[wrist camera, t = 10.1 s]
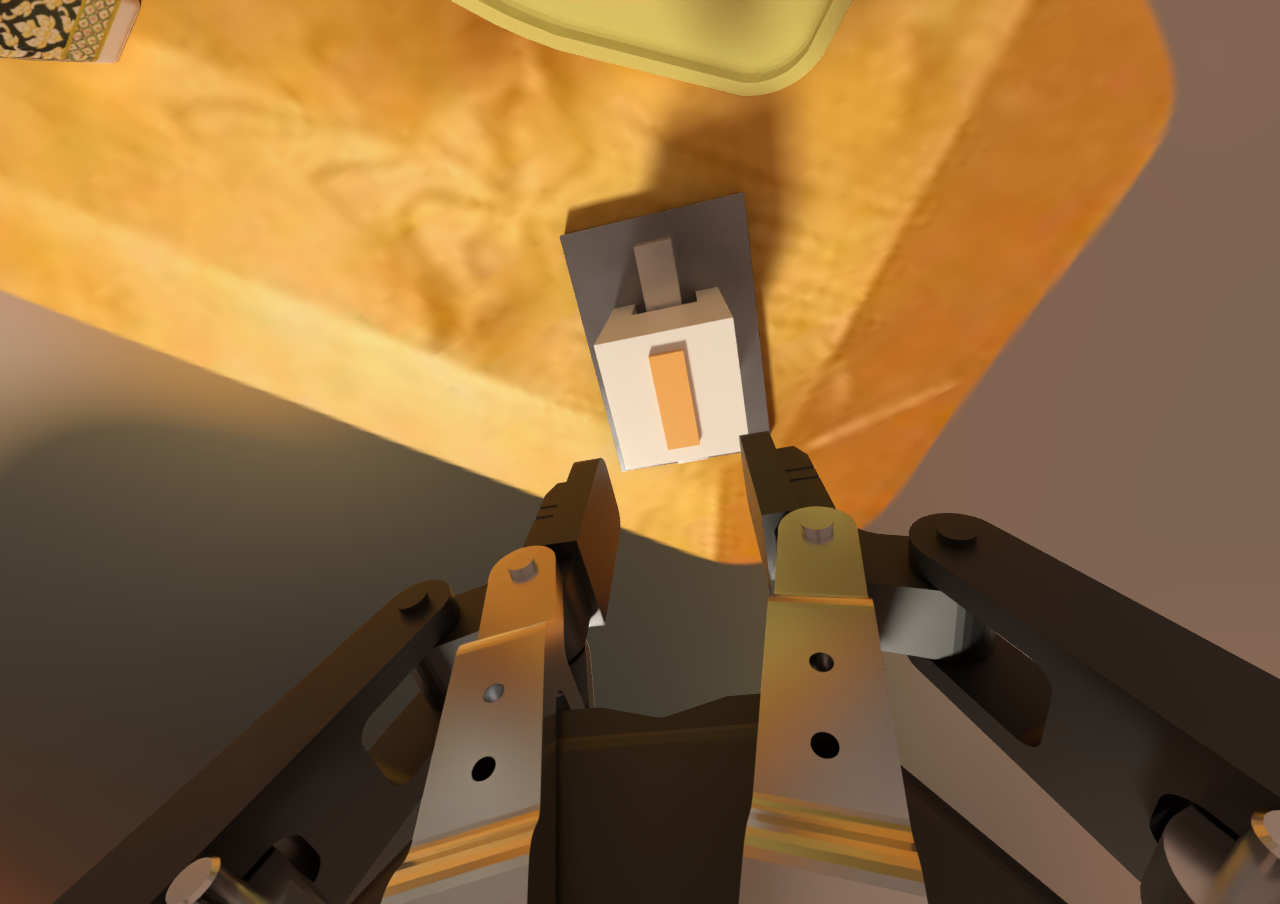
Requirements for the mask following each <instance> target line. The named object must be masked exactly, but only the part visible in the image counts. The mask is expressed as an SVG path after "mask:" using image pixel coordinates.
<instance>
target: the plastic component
mask: <svg viewBox="0 0 1280 904" xmlns="http://www.w3.org/2000/svg"><path fill="white" fill-rule="evenodd" d="M451 1H453V2H454V3H456V4H458V5H460V6H462V7H464V8H466V9H467V10H469V11H471V12H473V13H475V14H477V15H478V16H480V17H482V18H484V19H486V20H488V21H490V22H491V23H493V24H495V25H497V26H500V27H502V28H504V29H506V30H509V31H511V32H513V33H515V34H518V35H520V36H522V37H525V38H527V39H530V40H532V41H535V42H538V43H540V44H543V45H546V46H548V47H551V48H553V49H556V50H560V51H564V52H568V53H572V54H576V55H580V56H584V57H588V58H592V59H596V60H600V61H604V62H608V63H612V64H616V65H620V66H624V67H628V68H632V69H636V70H640V71H644V72H648V73H652V74H656V75H660V76H664V77H668V78H672V79H676V80H680V81H684V82H688V83H692V84H696V85H700V86H704V87H708V88H712V89H716V90H720V91H724V92H728V93H732V94H736V95H740V96H757V95H764V94H768V93H772V92H776V91H779V90H781V89H783V88H785V87H787V86H789V85H791V84H793V83H795V82H796V81H798V80H799V79H800V78H802V77H803V76H804V75H805V74H807V73H808V72H809V71H810V70H811V69H812V68H813V67H814V66H815V65H816V63H817V62H818V61H819V60H820V59H821V58H822V56H823V55H824V53H825V51H826V49H827V47H828V45H829V43H830V42H831V40H832V38H833V36H834V34H835V32H836V30H837V29H838V27H839V25H840V23H841V21H842V19H843V18H844V16H845V14H846V12H847V10H848V8H849V6H850V5H851V3H852V1H853V0H451Z"/></svg>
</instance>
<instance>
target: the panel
mask: <svg viewBox="0 0 1280 904" xmlns="http://www.w3.org/2000/svg"><path fill="white" fill-rule="evenodd" d="M560 240H561V244H562V247H563V251H564V255H565V259H566V262H567V266H568V270H569V274H570V277H571V281H572V285H573V289H574V293H575V296H576V300H577V304H578V308H579V311H580V315H581V319H582V323H583V326H584V330H585V334H586V338H587V342H588V345H589V349H590V353H591V357H592V360H593V364H594V368H595V372H596V375H597V379H598V383H599V387H600V391H601V394H602V398H603V402H604V406H605V409H606V413H607V417H608V421H609V424H610V428H611V432H612V436H613V440H614V443H615V447H616V451H617V455H618V458H619V462H620V466H621V470H622V471H628V470H634V469H628V470H626V468H625V464H624V460H623V456H622V452H621V449H620V445H619V441H618V437H617V433H616V429H615V425H614V422H613V418H612V414H611V410H610V406H609V402H608V399H607V395H606V391H605V387H604V383H603V379H602V376H601V372H600V368H599V364H598V360H597V356H596V353H595V349H594V344H595V342H596V340H597V339H598V337H599V335H600V333H601V331H602V329H603V328H604V326H605V324H606V322H607V320H608V319H609V317H610V315H611V313H612V311H613V310H614V308H619V307H624V306H628V305H633V304H635V306H636V311H637V314H640V313H645V312H650V311H655V310H659V309H664V308H669V307H674V306H679V305H683V304H688V303H693V302H697V298H696V292H695V291H699V290H704V289H709V288H713V287H718V288H719V290H720V292H721V294H722V296H723V298H724V300H725V302H726V304H727V306H728V308H729V310H730V312H731V314H732V316H733V321H734V328H735V336H736V344H737V351H738V359H739V367H740V375H741V382H742V390H743V398H744V405H745V413H746V421H747V428H748V434H750V433H756V432H763V431H769V433H770V430H769V420H768V411H767V402H766V393H765V383H764V374H763V365H762V356H761V346H760V337H759V328H758V319H757V309H756V300H755V291H754V282H753V272H752V263H751V254H750V245H749V235H748V226H747V217H746V208H745V198H744V192H740V193H736V194H731V195H727V196H723V197H719V198H715V199H711V200H706V201H702V202H698V203H694V204H690V205H685V206H681V207H677V208H673V209H669V210H665V211H660V212H656V213H652V214H648V215H644V216H639V217H635V218H631V219H627V220H623V221H619V222H614V223H610V224H606V225H602V226H598V227H593V228H589V229H585V230H581V231H577V232H573V233H568V234H564V235H561V236H560ZM734 453H740V452H734ZM734 453H728V454H734ZM728 454H722V455H728ZM722 455H716V456H722ZM709 457H715V456H709ZM709 457H703V458H697V459H691V460H684V461H678V462H672V463H678V464H679V463H685V462H692V461H698V460H704V459H709ZM672 463H666V464H672ZM659 465H665V464H659ZM659 465H653V466H659ZM653 466H647V467H653ZM647 467H641V468H647ZM635 469H640V468H635Z"/></svg>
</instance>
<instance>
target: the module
mask: <svg viewBox="0 0 1280 904" xmlns="http://www.w3.org/2000/svg"><path fill="white" fill-rule="evenodd" d="M695 292H696V298H697V302H693V303H688V304H683V305H679V306H674V307H669V308H664V309H659V310H655V311H650V312H645V313H640V314H637V311H636V306H635V304H633V305H628V306H624V307H619V308H614V310H613V311H612V313H611V315H610V317H609V319H608V320H607V322H606V324H605V326H604V328H603V329H602V331H601V333H600V335H599V337H598V339H597V340H596V342H595V344H594V349H595V353H596V356H597V360H598V364H599V368H600V372H601V376H602V379H603V383H604V387H605V391H606V395H607V399H608V402H609V406H610V410H611V414H612V418H613V422H614V425H615V429H616V433H617V437H618V441H619V445H620V449H621V452H622V456H623V460H624V464H625V468H626V470H628V469H635V468H641V467H647V466H653V465H659V464H666V463H672V462H678V461H684V460H691V459H697V458H703V457H709V456H716V455H722V454H728V453H734V452H741V450H740V442H739V435H744V434H748V428H747V421H746V413H745V405H744V398H743V390H742V382H741V375H740V367H739V359H738V351H737V344H736V336H735V328H734V321H733V316H732V314H731V312H730V310H729V308H728V306H727V304H726V302H725V300H724V298H723V296H722V294H721V292H720V290H719V288H718V287H713V288H709V289H704V290H699V291H695Z"/></svg>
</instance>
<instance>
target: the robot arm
mask: <svg viewBox="0 0 1280 904" xmlns="http://www.w3.org/2000/svg"><path fill="white" fill-rule="evenodd" d="M739 442H740V450H741V457H742V464H743V471H744V478H745V486H746V492H747V498H748V504H749V509H750V514H751V518H752V522H753V526H754V530H755V534H756V538H757V542H758V546H759V550H760V555H761V559H762V563H763V567H764V571H765V575H766V579H767V583H768V587H769V591H770V595H769V599H768V607H767V620H766V633H765V645H764V658H763V671H762V684H761V694H750V695H738V696H727V697H724V698H721V699H718V700H715V701H712V702H709V703H706V704H703V705H700V706H697V707H694V708H691V709H688V710H685V711H682V712H679V713H676V714H673V715H670V716H666V717H660V718H658V717H651V716H644V715H639V714H633V713H628V712H622V711H617V710H611V709H605V708H595V705H594V693H593V681H592V668H591V656H590V649H589V646H588V644H587V640H586V638H587V633H588V627H590V626H599V625H605V621H606V615H607V609H608V603H609V597H610V590H611V584H612V578H613V571H614V565H615V560H616V553H617V547H618V541H619V535H620V516H619V510H618V506H617V503H616V499H615V495H614V492H613V488H612V485H611V481H610V478H609V474H608V470H607V467H606V464H605V462H604V460H603V459H602V458H598V459H592V460H586V461H580V462H575V463H574V464H573V466H572V469H571V471H570V474H569V477H568V479H567V482H564V483H558V484H557V485H555V486H554V487H553V488H552V489H551V490H550V491H549V492H548V493H547V494H546V495H545V497H544V500H543V502H542V504H541V507H540V510H539V511H538V514H537V516H536V520H534V523H533V525H532V528H531V530H530V532H529V534H528V537H527V539H526V541H525V544H524V546H523V548H521V549H518V550H516V551H514V552H512V553H510V554H508V555H507V556H505V557H504V558H502V559H501V560H500V561H499V562H498V563H497V564H496V565H495V566H494V567H493V569H492V571H491V573H490V576H489V581H488V584H486V585H483V586H481V587H478V588H475V589H472V590H470V591H467V592H464V593H461V594H458V595H456V596H454V595H453V593H452V591H451V589H450V587H449V585H448V584H447V583H446V582H444V581H441V580H430V581H424V582H421V583H418V584H416V585H413V586H411V587H409V588H407V589H406V590H404V591H402V592H401V593H399V594H398V595H396V596H395V597H394V598H393V599H392V600H391V601H389V602H388V603H387V604H386V605H385V606H384V607H383V608H382V609H380V610H379V611H378V612H377V613H376V614H375V615H374V616H373V617H371V618H370V619H369V620H368V621H367V622H366V623H365V624H364V625H363V626H361V628H359V629H358V630H357V631H356V632H355V633H354V634H353V635H351V636H350V637H349V638H348V639H347V640H346V641H345V642H344V643H342V644H341V645H340V647H338V648H337V649H336V650H335V651H334V652H333V653H332V654H330V655H329V656H328V657H327V658H326V659H325V660H324V661H322V662H321V663H320V664H319V665H318V666H317V667H316V668H315V669H313V670H312V671H311V672H310V673H309V674H308V675H307V676H306V677H305V678H303V679H302V680H301V681H300V682H299V683H298V684H297V685H296V686H295V687H293V688H292V689H291V690H290V691H289V692H288V693H287V694H286V695H284V696H283V697H282V698H281V699H280V700H279V701H278V702H277V703H276V704H274V705H273V706H272V707H271V708H270V709H269V710H268V711H267V712H266V713H264V714H263V715H262V716H261V717H260V718H259V719H258V720H257V721H255V723H253V724H252V725H251V726H250V727H249V728H248V729H247V730H246V731H244V732H243V733H242V734H241V735H240V736H239V737H238V738H237V739H235V740H234V741H233V742H232V743H231V744H230V745H229V746H228V747H226V748H225V749H224V750H223V751H222V752H221V753H220V754H219V755H218V756H217V757H215V758H214V759H213V760H212V761H211V762H210V763H209V764H208V765H206V766H205V767H204V768H203V769H202V770H201V771H200V772H199V773H198V774H196V775H195V776H194V777H193V778H192V779H191V780H190V781H189V782H187V783H186V784H185V785H184V786H183V787H182V788H181V789H180V790H178V791H177V792H176V793H175V794H174V795H173V796H172V797H171V798H170V799H168V800H167V801H166V802H165V803H164V804H163V805H162V806H161V807H160V808H158V809H157V810H156V811H155V812H154V813H153V814H152V815H151V816H150V817H148V818H147V819H146V820H145V821H144V822H143V823H142V824H141V825H140V826H139V827H137V828H136V829H135V830H134V831H133V832H132V833H131V834H130V835H128V836H127V837H126V838H125V839H124V840H123V841H122V842H120V843H119V844H118V845H117V846H116V847H115V848H114V849H113V850H112V851H110V852H109V853H108V854H107V855H106V856H105V857H104V858H103V859H102V860H100V861H99V862H98V863H97V864H96V865H95V866H94V867H93V868H92V869H91V870H89V871H88V872H87V873H86V874H85V875H84V876H83V877H81V878H80V879H79V880H78V881H77V882H76V883H75V884H74V885H73V886H71V887H70V888H69V889H68V890H67V891H66V892H65V893H64V894H63V895H61V896H60V898H58V899H57V900H56V901H55V902H54V903H52V904H344V903H345V902H346V900H347V899H348V898H349V896H350V895H351V894H352V892H353V891H354V889H355V888H356V887H357V885H358V884H359V883H360V881H361V880H362V878H363V877H364V876H365V874H366V873H367V872H368V870H369V869H370V867H371V866H372V865H373V863H374V862H375V861H376V859H377V858H378V857H379V855H380V854H381V853H382V851H383V849H384V848H385V847H386V846H387V844H388V843H389V842H390V840H391V839H392V837H393V836H394V835H395V833H396V832H397V831H398V829H399V828H400V826H401V825H402V824H403V822H404V821H405V820H406V818H407V817H408V816H409V814H410V813H411V811H412V810H413V809H414V807H415V806H416V805H417V803H418V802H419V800H420V799H421V798H422V801H421V805H420V810H419V814H418V818H417V823H416V827H415V831H414V836H413V839H412V840H411V841H410V842H409V843H408V844H407V845H406V846H405V847H404V848H403V849H402V850H401V851H400V852H399V853H398V854H397V856H396V857H395V858H394V859H393V860H392V861H391V862H390V863H389V864H388V865H387V866H386V867H385V868H384V869H383V870H382V871H381V872H380V873H379V875H378V876H377V877H376V878H375V879H374V880H373V881H372V882H371V883H370V884H369V885H368V886H367V887H366V888H365V889H364V890H363V891H362V892H361V893H360V894H359V896H358V897H357V898H356V899H355V900H354V901H353V902H352V903H351V904H1068V903H1066V902H1065V901H1064V900H1063V899H1062V898H1060V897H1059V896H1058V895H1057V894H1056V893H1054V892H1053V891H1052V890H1051V889H1050V888H1048V887H1047V886H1046V885H1045V884H1044V883H1042V882H1041V881H1040V880H1039V879H1038V878H1036V877H1035V876H1034V875H1033V874H1032V873H1030V872H1029V871H1028V870H1027V869H1026V868H1024V867H1023V866H1022V865H1021V864H1019V863H1018V862H1017V861H1016V860H1015V859H1013V858H1012V857H1011V856H1010V855H1009V854H1007V853H1006V852H1005V851H1004V850H1003V849H1001V848H1000V847H999V846H998V845H997V844H995V843H994V842H993V841H992V840H991V839H989V838H988V837H987V836H986V835H985V834H983V833H982V832H981V831H980V830H978V829H977V828H976V827H975V826H974V825H972V824H971V823H970V822H969V821H968V820H966V819H965V818H964V817H963V816H962V815H960V814H959V813H958V812H957V811H956V810H954V809H953V808H952V807H951V806H950V805H948V804H947V803H946V802H945V801H943V800H942V799H941V798H940V797H939V796H938V795H936V794H935V793H934V792H933V791H931V790H930V789H929V788H928V787H927V786H926V785H924V784H923V783H922V782H921V781H919V780H918V779H917V778H916V777H915V776H913V775H912V774H911V773H910V772H908V771H907V770H906V769H905V768H903V766H901V765H900V760H899V754H898V747H897V741H896V735H895V729H894V723H893V717H892V711H891V705H890V699H889V693H888V687H887V681H886V675H885V669H884V663H883V657H882V651H887V652H893V653H900V654H906V655H907V656H908V657H909V659H910V661H911V662H912V664H913V665H914V666H915V667H916V668H917V669H918V670H919V671H920V672H921V673H922V674H923V675H924V676H925V677H927V678H928V679H929V680H930V681H931V682H932V683H933V684H934V685H935V686H936V687H937V688H938V689H939V690H940V691H941V692H942V693H943V694H944V695H945V696H946V697H947V698H948V699H950V700H951V701H952V702H953V703H954V704H955V705H956V706H957V707H958V708H959V709H960V710H961V711H962V712H963V713H964V714H965V715H966V716H967V717H968V718H969V719H970V720H971V721H973V722H974V723H975V724H976V725H977V726H978V727H979V728H980V729H981V730H982V731H983V732H984V733H985V734H986V735H987V736H988V737H989V738H990V739H992V741H993V742H995V743H996V744H997V745H998V746H999V747H1000V748H1001V749H1002V750H1003V751H1004V752H1005V753H1006V754H1007V755H1008V756H1009V757H1010V758H1011V759H1012V760H1013V761H1014V762H1015V763H1016V764H1017V765H1019V766H1020V767H1021V768H1022V769H1023V770H1024V771H1025V772H1026V773H1027V774H1028V775H1029V776H1030V777H1031V778H1032V779H1033V780H1034V781H1035V782H1037V784H1038V785H1039V786H1040V787H1041V788H1042V789H1044V790H1045V791H1046V792H1047V793H1048V794H1049V795H1050V796H1051V797H1052V798H1053V799H1054V800H1055V801H1056V802H1057V803H1058V804H1059V805H1060V806H1061V807H1062V808H1063V809H1064V810H1066V811H1067V812H1068V813H1069V814H1070V815H1071V816H1072V817H1073V818H1074V819H1075V820H1076V821H1077V822H1078V823H1079V824H1080V825H1081V826H1082V827H1083V828H1084V829H1085V830H1086V831H1088V832H1089V833H1090V834H1091V835H1092V836H1093V837H1094V838H1095V839H1096V840H1097V841H1098V842H1099V843H1100V844H1101V845H1102V846H1103V847H1104V848H1105V849H1106V850H1107V851H1108V852H1109V853H1110V854H1111V855H1113V856H1114V857H1115V858H1116V859H1117V860H1118V861H1119V862H1120V863H1121V864H1122V865H1123V866H1124V867H1125V868H1126V869H1127V870H1128V871H1129V872H1131V874H1133V876H1134V877H1136V878H1137V879H1138V880H1139V881H1140V882H1141V884H1140V898H1141V902H1142V904H1280V679H1278V678H1277V677H1275V676H1273V675H1271V674H1269V673H1267V672H1266V671H1264V670H1261V669H1260V668H1258V667H1256V666H1254V665H1252V664H1251V663H1249V662H1247V661H1245V660H1243V659H1241V658H1239V657H1238V656H1236V655H1234V654H1232V653H1230V652H1228V651H1226V650H1224V649H1223V648H1221V647H1219V646H1217V645H1215V644H1213V643H1212V642H1210V641H1208V640H1206V639H1204V638H1202V637H1200V636H1198V635H1197V634H1195V633H1193V632H1191V631H1189V630H1187V629H1186V628H1184V627H1182V626H1180V625H1178V624H1176V623H1174V622H1173V621H1171V620H1169V619H1167V618H1165V617H1163V616H1161V615H1159V614H1158V613H1156V612H1154V611H1152V610H1150V609H1148V608H1146V607H1145V606H1143V605H1141V604H1139V603H1137V602H1135V601H1133V600H1132V599H1130V598H1128V597H1126V596H1124V595H1122V594H1120V593H1118V592H1117V591H1115V590H1113V589H1111V588H1109V587H1107V586H1106V585H1104V584H1102V583H1100V582H1098V581H1096V580H1094V579H1092V578H1091V577H1089V576H1087V575H1085V574H1083V573H1081V572H1080V571H1078V570H1076V569H1074V568H1072V567H1070V566H1068V565H1067V564H1065V563H1063V562H1061V561H1059V560H1057V559H1055V558H1054V557H1052V556H1050V555H1048V554H1046V553H1044V552H1042V551H1041V550H1039V549H1036V548H1035V547H1033V546H1031V545H1029V544H1028V543H1026V542H1024V541H1022V540H1020V539H1018V538H1016V537H1015V536H1013V535H1011V534H1009V533H1007V532H1005V531H1003V530H1001V529H1000V528H998V527H996V526H994V525H992V524H990V523H988V522H986V521H984V520H982V519H979V518H976V517H972V516H968V515H963V514H954V513H940V514H933V515H928V516H925V517H922V518H920V519H918V520H917V521H916V522H914V523H913V524H912V526H911V527H910V530H909V536H899V535H885V534H876V533H871V532H867V531H863V530H860V529H858V528H857V525H856V523H855V521H854V520H853V519H852V518H851V517H850V516H849V515H847V514H846V513H844V512H842V511H840V510H837V509H836V508H835V506H834V504H833V502H832V500H831V498H830V497H829V495H828V493H827V491H826V489H825V487H824V485H823V483H822V481H821V479H820V478H819V476H818V474H817V472H816V470H815V468H814V466H813V464H812V462H811V460H810V458H809V457H808V455H807V454H806V453H804V452H802V451H801V450H799V449H797V448H796V447H794V446H791V447H784V448H778V449H776V448H775V445H774V443H773V440H772V438H771V435H770V433H769V431H763V432H756V433H750V434H744V435H739ZM996 633H998V634H999V635H1001V636H1002V637H1004V638H1005V639H1006V640H1007V641H1009V642H1010V643H1011V644H1013V645H1014V646H1015V647H1017V648H1018V649H1019V650H1021V651H1022V652H1024V653H1025V654H1026V655H1028V656H1029V657H1030V658H1031V659H1032V660H1031V659H1030V658H1029V657H1027V656H1026V655H1024V654H1023V653H1022V652H1020V651H1019V650H1018V649H1016V648H1015V647H1014V646H1012V645H1011V644H1010V643H1008V642H1007V641H1006V640H1004V639H1003V638H1002V637H1000V636H999V635H998V634H996ZM1033 660H1034V661H1035V662H1036V663H1035V662H1034V661H1033ZM409 673H410V674H411V675H412V677H413V679H414V680H415V682H416V684H417V685H418V687H419V688H420V690H421V691H420V692H419V693H418V694H417V696H416V697H415V698H414V699H413V700H412V701H411V703H410V704H409V705H408V706H407V707H406V708H405V709H404V711H403V712H402V713H401V714H400V715H399V716H398V717H397V718H396V720H395V721H394V722H393V723H392V724H391V725H390V726H389V728H388V729H387V730H386V731H385V732H384V733H383V735H382V736H381V737H380V738H379V739H378V740H377V741H376V742H375V744H374V745H373V746H372V747H371V748H370V749H369V751H368V752H367V751H366V750H365V748H364V747H363V745H362V740H361V737H362V731H363V728H364V725H365V723H366V721H367V720H368V718H369V717H370V716H371V714H372V713H373V712H374V711H375V710H376V709H377V708H378V707H379V706H380V705H381V704H382V702H383V701H384V700H385V699H386V698H387V697H388V696H389V695H390V694H391V693H392V692H393V690H394V689H395V688H396V687H397V686H398V685H399V684H400V683H401V682H402V681H403V680H404V678H406V676H407V675H408V674H409ZM422 796H423V797H422Z"/></svg>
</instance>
